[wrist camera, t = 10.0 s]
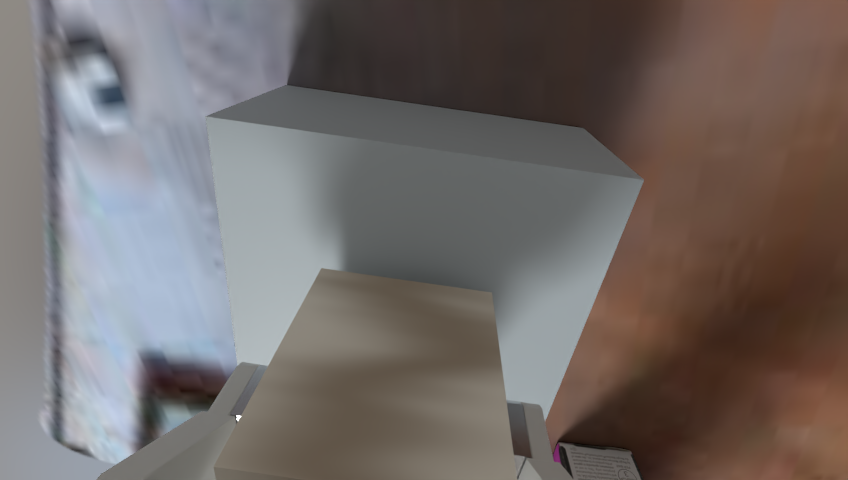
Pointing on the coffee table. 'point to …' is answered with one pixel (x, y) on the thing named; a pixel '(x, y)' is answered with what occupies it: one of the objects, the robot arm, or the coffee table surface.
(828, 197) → the coffee table surface
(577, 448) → the candy bar box
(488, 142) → the slate block
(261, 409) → the cream block
